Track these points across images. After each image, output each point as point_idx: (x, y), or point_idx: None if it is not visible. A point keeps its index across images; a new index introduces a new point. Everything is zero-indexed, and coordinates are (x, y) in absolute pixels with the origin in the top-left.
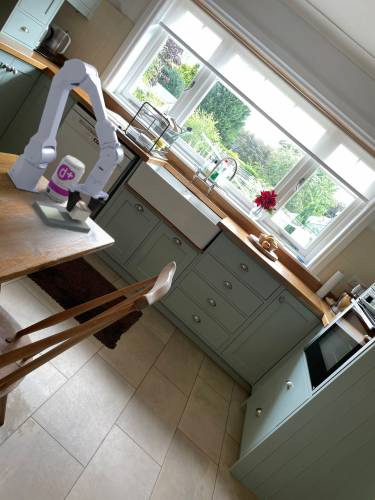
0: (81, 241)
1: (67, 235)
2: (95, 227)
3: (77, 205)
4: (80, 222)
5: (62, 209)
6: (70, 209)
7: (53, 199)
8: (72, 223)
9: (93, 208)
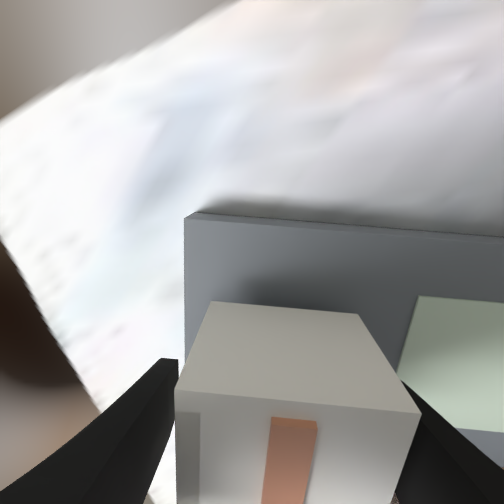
0: (361, 73)
1: (461, 147)
2: (80, 285)
3: (369, 473)
4: (247, 296)
5: None
6: (426, 403)
7: None
8: (353, 272)
9: (113, 454)
